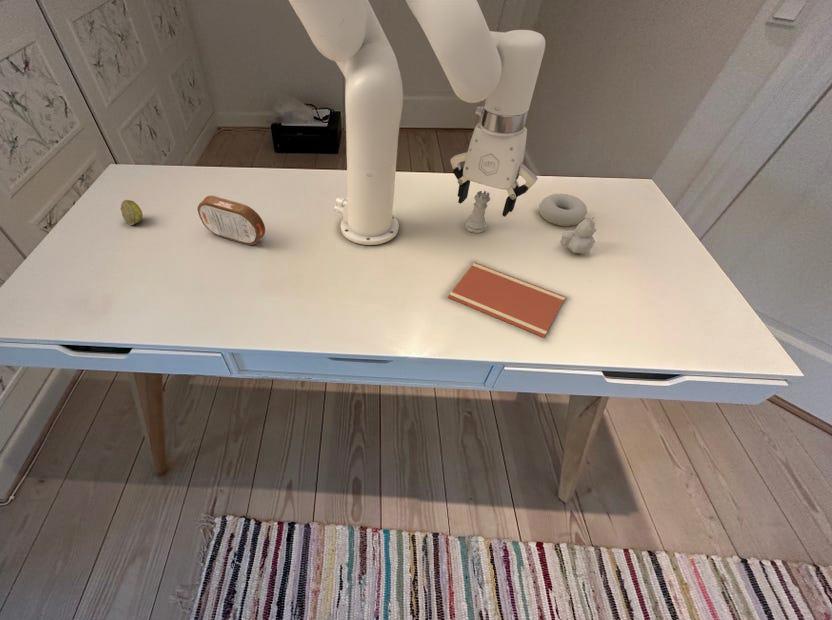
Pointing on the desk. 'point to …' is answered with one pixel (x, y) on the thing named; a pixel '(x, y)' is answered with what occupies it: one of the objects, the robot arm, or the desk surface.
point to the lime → (131, 212)
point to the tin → (231, 220)
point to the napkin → (508, 299)
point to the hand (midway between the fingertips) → (483, 206)
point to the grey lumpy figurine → (580, 237)
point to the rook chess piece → (478, 213)
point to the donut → (563, 209)
